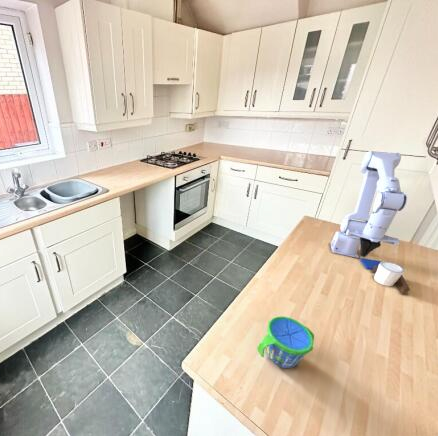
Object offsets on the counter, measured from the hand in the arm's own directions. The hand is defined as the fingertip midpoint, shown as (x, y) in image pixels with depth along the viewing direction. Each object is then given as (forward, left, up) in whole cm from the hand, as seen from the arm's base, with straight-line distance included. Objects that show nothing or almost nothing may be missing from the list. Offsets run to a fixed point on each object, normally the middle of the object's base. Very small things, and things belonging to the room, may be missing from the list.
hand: (362, 255), depth 92 cm
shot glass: (+10, 0, -10) cm, 14 cm away
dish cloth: (+9, +10, -9) cm, 16 cm away
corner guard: (+11, 0, -9) cm, 14 cm away
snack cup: (-24, -50, -10) cm, 56 cm away
